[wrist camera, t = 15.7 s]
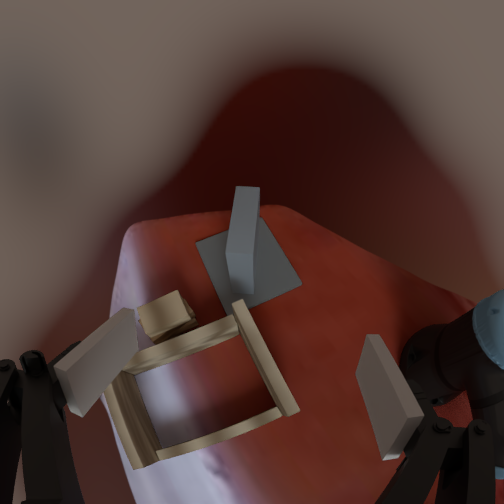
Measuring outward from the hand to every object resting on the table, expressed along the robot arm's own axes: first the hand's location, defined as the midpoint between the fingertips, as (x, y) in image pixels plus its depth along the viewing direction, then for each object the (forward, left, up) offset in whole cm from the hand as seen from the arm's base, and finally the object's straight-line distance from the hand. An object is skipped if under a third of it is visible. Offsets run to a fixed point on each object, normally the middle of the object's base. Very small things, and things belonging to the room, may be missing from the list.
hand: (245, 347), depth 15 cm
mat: (-8, -20, -30) cm, 37 cm away
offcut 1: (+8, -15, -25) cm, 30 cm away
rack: (+8, -2, -30) cm, 31 cm away
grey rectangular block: (-8, -20, -29) cm, 36 cm away
